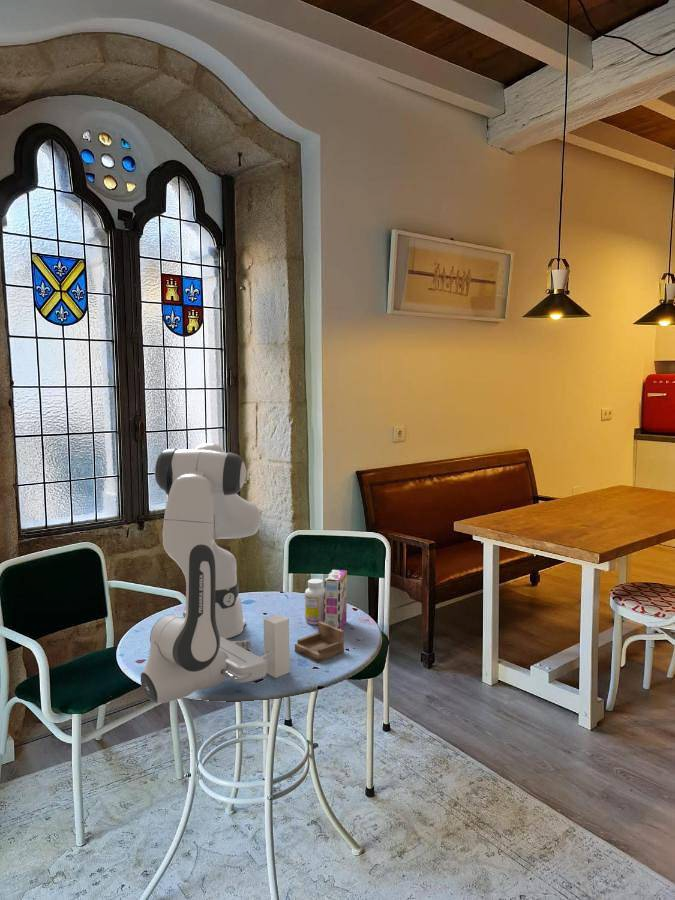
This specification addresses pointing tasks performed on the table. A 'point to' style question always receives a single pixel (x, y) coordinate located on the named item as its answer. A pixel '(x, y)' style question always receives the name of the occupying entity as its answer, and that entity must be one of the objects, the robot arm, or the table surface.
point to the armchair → (322, 643)
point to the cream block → (277, 644)
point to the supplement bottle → (314, 602)
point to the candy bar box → (335, 598)
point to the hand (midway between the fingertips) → (259, 649)
